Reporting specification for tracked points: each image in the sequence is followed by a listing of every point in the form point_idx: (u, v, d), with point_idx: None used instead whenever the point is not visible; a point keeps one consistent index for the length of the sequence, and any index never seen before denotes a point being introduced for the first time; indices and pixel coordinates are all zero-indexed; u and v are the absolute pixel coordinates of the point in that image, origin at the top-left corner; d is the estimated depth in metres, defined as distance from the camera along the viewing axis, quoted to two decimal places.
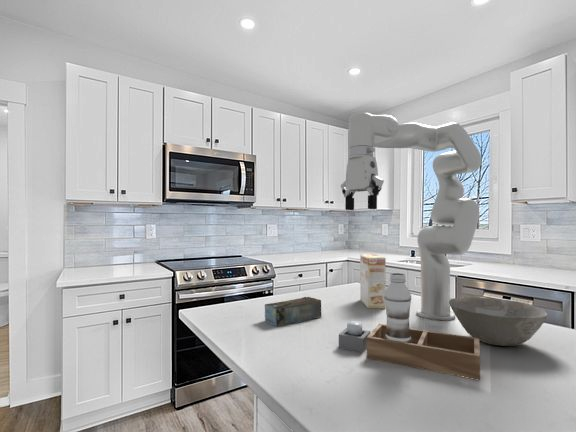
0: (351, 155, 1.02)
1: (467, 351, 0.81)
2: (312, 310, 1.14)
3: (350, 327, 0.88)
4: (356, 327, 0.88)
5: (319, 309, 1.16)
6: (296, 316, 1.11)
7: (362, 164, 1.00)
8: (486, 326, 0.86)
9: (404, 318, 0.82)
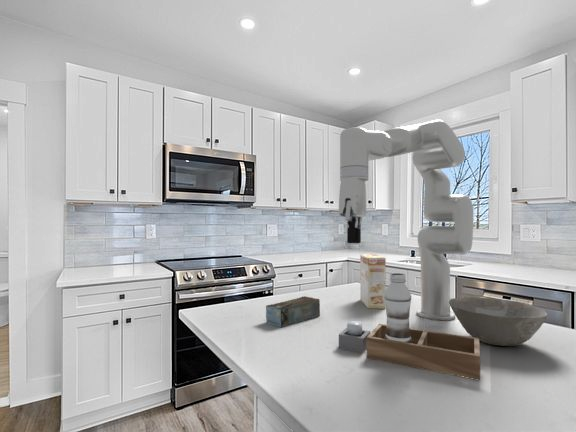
0: (367, 176, 0.88)
1: (467, 351, 0.81)
2: (312, 310, 1.15)
3: (350, 327, 0.88)
4: (356, 327, 0.88)
5: (318, 308, 1.17)
6: (298, 316, 1.11)
7: (365, 189, 0.92)
8: (486, 326, 0.86)
9: (404, 318, 0.82)
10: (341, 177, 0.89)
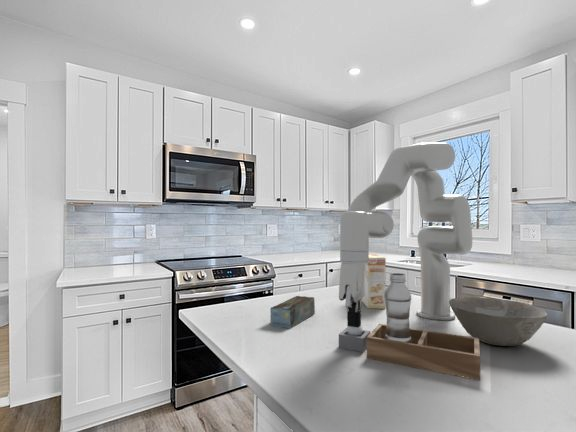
0: (367, 260, 0.88)
1: (467, 351, 0.81)
2: (310, 308, 1.17)
3: (350, 329, 0.88)
4: (356, 330, 0.88)
5: (313, 306, 1.20)
6: (301, 315, 1.11)
7: (365, 270, 0.92)
8: (486, 326, 0.86)
9: (404, 318, 0.82)
10: (341, 260, 0.89)
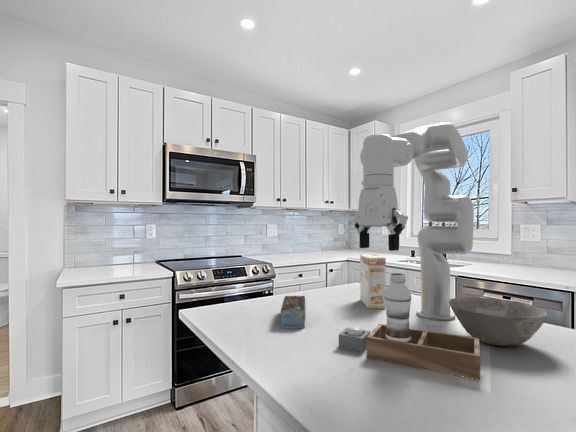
0: None
1: (467, 351, 0.81)
2: (305, 307, 1.19)
3: (350, 332, 0.88)
4: (356, 332, 0.88)
5: None
6: None
7: None
8: (486, 326, 0.86)
9: (404, 318, 0.82)
10: (379, 185, 0.84)
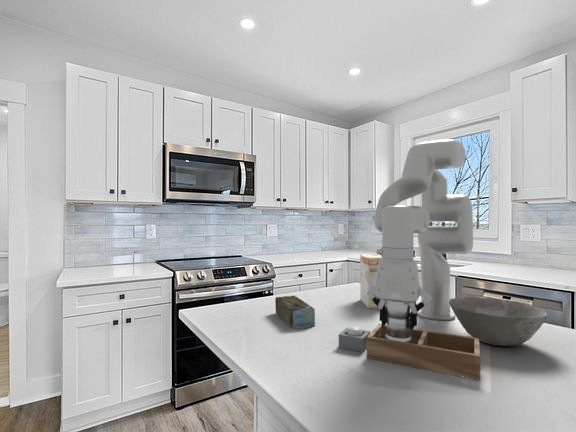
0: None
1: (467, 351, 0.81)
2: None
3: (350, 332, 0.88)
4: (356, 332, 0.88)
5: None
6: None
7: None
8: (486, 326, 0.86)
9: (404, 318, 0.82)
10: (406, 259, 0.81)
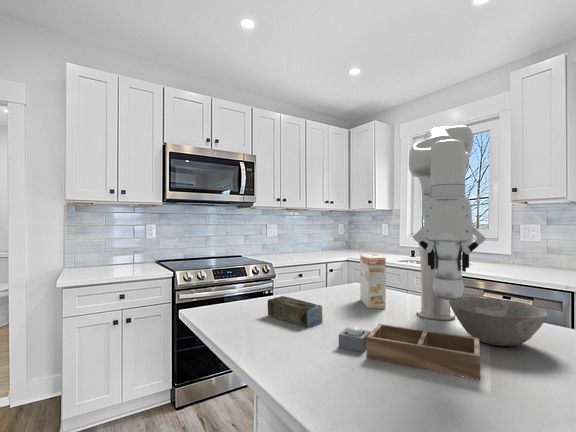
0: None
1: (467, 351, 0.81)
2: None
3: (350, 332, 0.88)
4: (356, 332, 0.88)
5: None
6: None
7: None
8: (486, 326, 0.86)
9: (456, 259, 0.77)
10: (459, 196, 0.76)
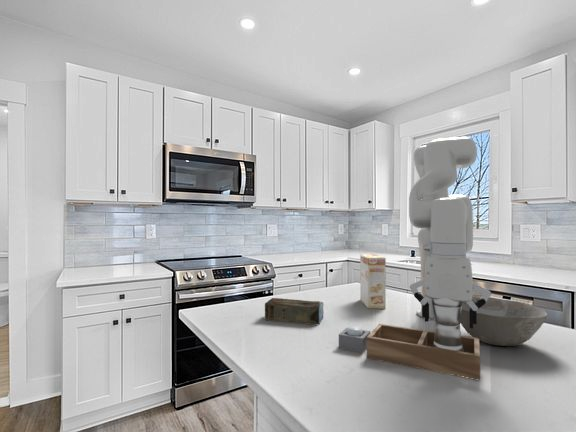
0: None
1: (467, 351, 0.81)
2: None
3: (350, 332, 0.88)
4: (356, 332, 0.88)
5: None
6: None
7: None
8: (486, 326, 0.86)
9: (456, 325, 0.77)
10: (460, 255, 0.76)
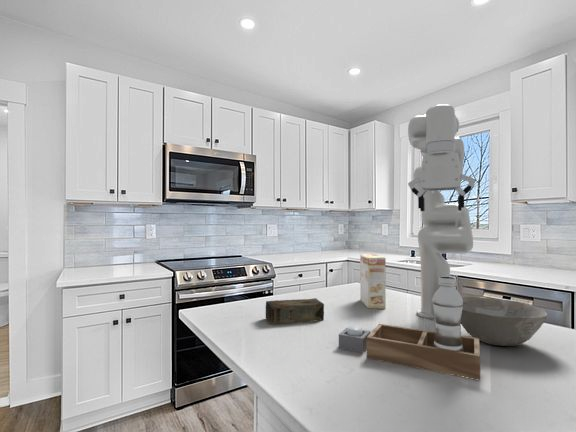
0: None
1: (467, 351, 0.81)
2: None
3: (350, 332, 0.88)
4: (356, 332, 0.88)
5: None
6: None
7: None
8: (486, 326, 0.86)
9: (456, 325, 0.77)
10: (449, 150, 0.91)
